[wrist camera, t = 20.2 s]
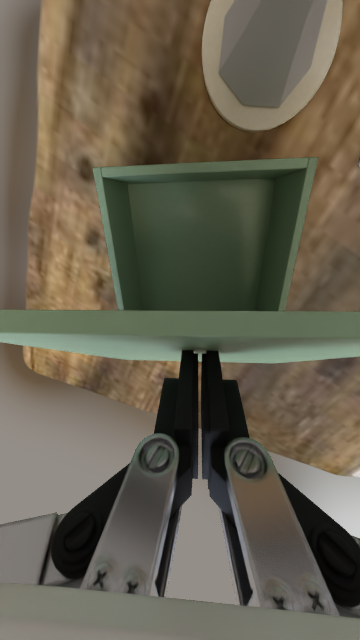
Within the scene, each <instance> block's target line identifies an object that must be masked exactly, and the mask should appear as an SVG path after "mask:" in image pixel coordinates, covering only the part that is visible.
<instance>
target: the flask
mask: <svg viewBox="0 0 360 640" xmlns="http://www.w3.org/2000/svg"><path fill="white" fill-rule="evenodd" d="M326 4H327V0H235V1H234V2H233V4H232V5H231V7H230V9H229V10H228V12H227V14H226V15H225V20H224V29H223V38H222V47H221V56H220V65H219V74H220V75H221V77H222V78H223V79H224V80H225V82H226V83H227V84H228V86H229V87H230V88H231V89H232V91H233V92H234V93H235V94H236V96H237V97H238V98H239V100H240V101H241V102H242V103H243V105H257V106H272V107H279V106H280V105H281V104H282V103H283V101H284V100H285V99H286V98H287V96H288V95H289V94H290V93H291V91H292V90H293V89H294V88H295V86H296V85H297V84H298V83H299V82H300V80H301V79H302V78H303V77H304V75H305V74H306V73H307V72H308V70H309V69H310V68H311V64H312V60H313V56H314V52H315V48H316V44H317V40H318V36H319V32H320V28H321V24H322V20H323V16H324V12H325V8H326Z"/></svg>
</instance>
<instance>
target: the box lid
mask: <svg viewBox="0 0 360 640" xmlns="http://www.w3.org/2000/svg"><path fill="white" fill-rule="evenodd" d="M0 342H5V343H11V344H18V345H25V346H32V347H39V348H46V349H53V350H60V351H67V352H74V353H81V354H88V355H95V356H103V357H110V358H117V359H124V360H160V361H181V354H182V350H194V353H198V361H202V353H204V354H206V351H219V358H220V362H245V363H285V362H297V361H309V360H321V359H333V358H345V357H357V356H360V312H320V311H146V310H0Z"/></svg>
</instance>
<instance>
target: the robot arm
mask: <svg viewBox="0 0 360 640" xmlns="http://www.w3.org/2000/svg"><path fill="white" fill-rule="evenodd" d="M201 427H202V478H203V479H208V489H209V490H210V497H211V498H212V499H213V501H214V502H215V503H216V504H217V505H218V507H219V512H220V517H221V523H222V528H223V533H224V538H225V544H226V549H227V554H228V559H229V565H230V570H231V575H232V580H233V586H234V591H235V596H236V601H237V605H232V604H222V603H213V602H203V601H194V600H184V599H175V598H166V595H167V589H168V584H169V577H170V572H171V566H172V561H173V555H174V550H175V544H176V538H177V532H178V527H179V521H180V515H181V509H182V504H183V503H184V502H185V501H186V500H187V499H188V498H189V497H190V496H191V491H192V478H195V479H198V353H194V350H182V354H181V364H180V373H179V379H177V378H165V379H164V383H163V388H162V393H161V399H160V404H159V409H158V414H157V420H156V425H155V431H154V434H152V435H150V436H148V437H146V438H144V439H143V440H142V441H141V442H140V443H139V445H138V447H137V448H136V450H135V453H134V456H133V458H132V460H131V463H129V464H128V465H127V466H126V467H124V468H123V469H122V470H121V471H119V472H118V473H117V474H115V475H114V476H113V477H112V478H110V479H109V480H108V481H107V482H105V483H104V484H103V485H102V486H100V487H99V488H98V489H97V490H95V491H94V492H93V493H92V494H91V495H89V496H88V497H86V498H85V499H84V500H83V501H81V502H80V503H79V504H78V505H76V506H75V507H74V508H73V509H72V510H71V511H70V512H68V513H66V514H61V515H58V514H57V513H52V514H48V515H43V516H38V517H34V518H29V519H25V520H20V521H15V522H11V523H6V524H1V525H0V640H360V538H357V537H354V536H351V535H350V534H349V533H348V532H347V531H346V530H345V529H344V528H342V527H341V526H340V525H339V524H338V523H337V522H335V521H334V520H333V519H332V518H331V517H330V516H328V515H327V514H326V513H325V512H324V511H322V510H321V509H320V508H319V507H318V506H317V505H315V504H314V503H313V502H312V501H311V500H309V499H308V498H307V497H306V496H305V495H303V494H302V493H301V492H300V491H299V490H298V489H296V488H295V487H294V486H293V485H292V484H290V483H289V482H288V481H287V480H286V479H285V478H283V477H282V476H281V475H280V474H279V473H277V470H276V468H275V466H274V464H273V461H272V459H271V457H270V455H269V453H268V452H267V450H266V449H265V448H264V447H263V446H262V445H261V444H260V443H258V442H257V441H255V440H253V439H250V438H249V434H248V429H247V424H246V420H245V415H244V411H243V406H242V402H241V397H240V393H239V388H238V384H237V381H236V380H223V379H222V372H221V365H220V358H219V351H206V354H204V353H202V372H201Z"/></svg>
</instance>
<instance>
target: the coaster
mask: <svg viewBox="0 0 360 640" xmlns="http://www.w3.org/2000/svg"><path fill="white" fill-rule="evenodd" d="M234 1H235V0H211V2H210V5H209V8H208V11H207V15H206V19H205V24H204V30H203V37H202V70H203V77H204V82H205V86H206V89H207V92H208V95H209V98H210V100H211V102H212V104H213V106H214V107H215V109H216V110H217V112H218V113H219V114H220V115H221V117H222V118H223V119H224V120H225V121H227V122H228V123H229V124H230V125H232V126H234V127H235V128H238V129H240V130H243V131H248V132H263V131H268V130H271V129H274V128H276V127H278V126H281V125H282V124H284V123H286V122H287V121H289V120H290V119H291V118H293V117H294V116H295V115H296V114H297V113H299V112H300V111H301V110H302V109H303V108H304V107H305V106H306V105H307V103H308V102H309V101H310V100H311V99H312V97H313V96H314V95H315V93H316V92H317V90H318V89H319V87H320V86H321V84H322V82H323V80H324V78H325V77H326V75H327V72H328V70H329V68H330V66H331V63H332V60H333V58H334V55H335V52H336V48H337V44H338V40H339V36H340V30H341V23H342V0H327V4H326V8H325V12H324V16H323V20H322V24H321V28H320V32H319V36H318V40H317V44H316V48H315V52H314V56H313V60H312V64H311V68H310V69H309V70H308V72H307V73H306V74H305V75H304V77H303V78H302V79H301V80H300V82H299V83H298V84H297V85H296V86H295V88H294V89H293V90H292V91H291V93H290V94H289V95H288V96H287V98H286V99H285V100H284V101H283V103H282V104H281V105H280V106H279V107H272V106H257V105H243V103H242V102H241V101H240V100H239V98H238V97H237V96H236V94H235V93H234V92H233V91H232V89H231V88H230V87H229V86H228V84H227V83H226V82H225V80H224V79H223V78H222V77H221V75H220V74H219V65H220V56H221V47H222V38H223V29H224V20H225V15H226V14H227V12H228V10H229V9H230V7H231V5H232V4H233V2H234Z"/></svg>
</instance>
